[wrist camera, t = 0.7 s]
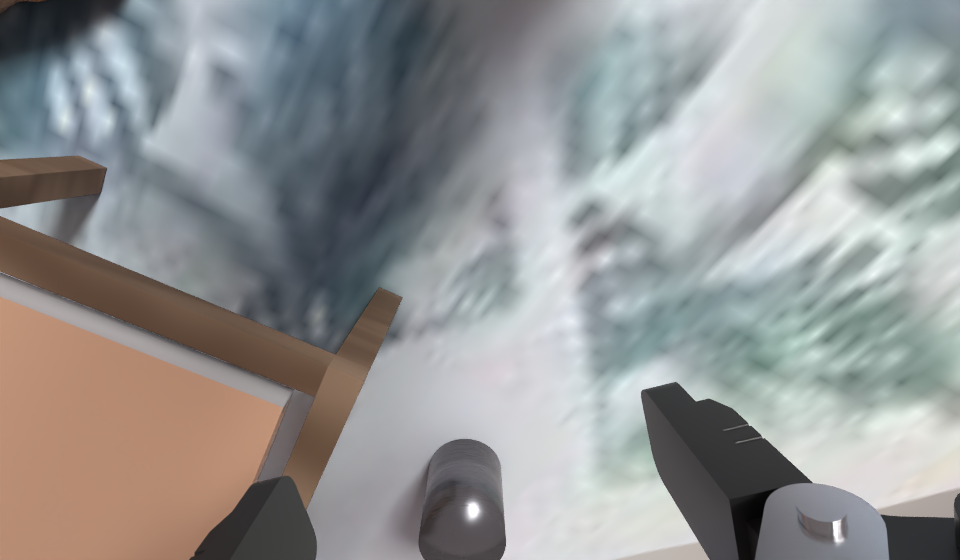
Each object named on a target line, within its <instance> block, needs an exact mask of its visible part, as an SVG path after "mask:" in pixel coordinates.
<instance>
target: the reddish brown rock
mask: <svg viewBox="0 0 960 560" xmlns="http://www.w3.org/2000/svg"><path fill="white" fill-rule="evenodd" d="M23 1H31V2H41V1H47V0H0V14H1V13H3V12H4V11H6V10H7V8H8V7H10V6H12V5H14V4H16V3H18V2H23Z"/></svg>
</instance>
